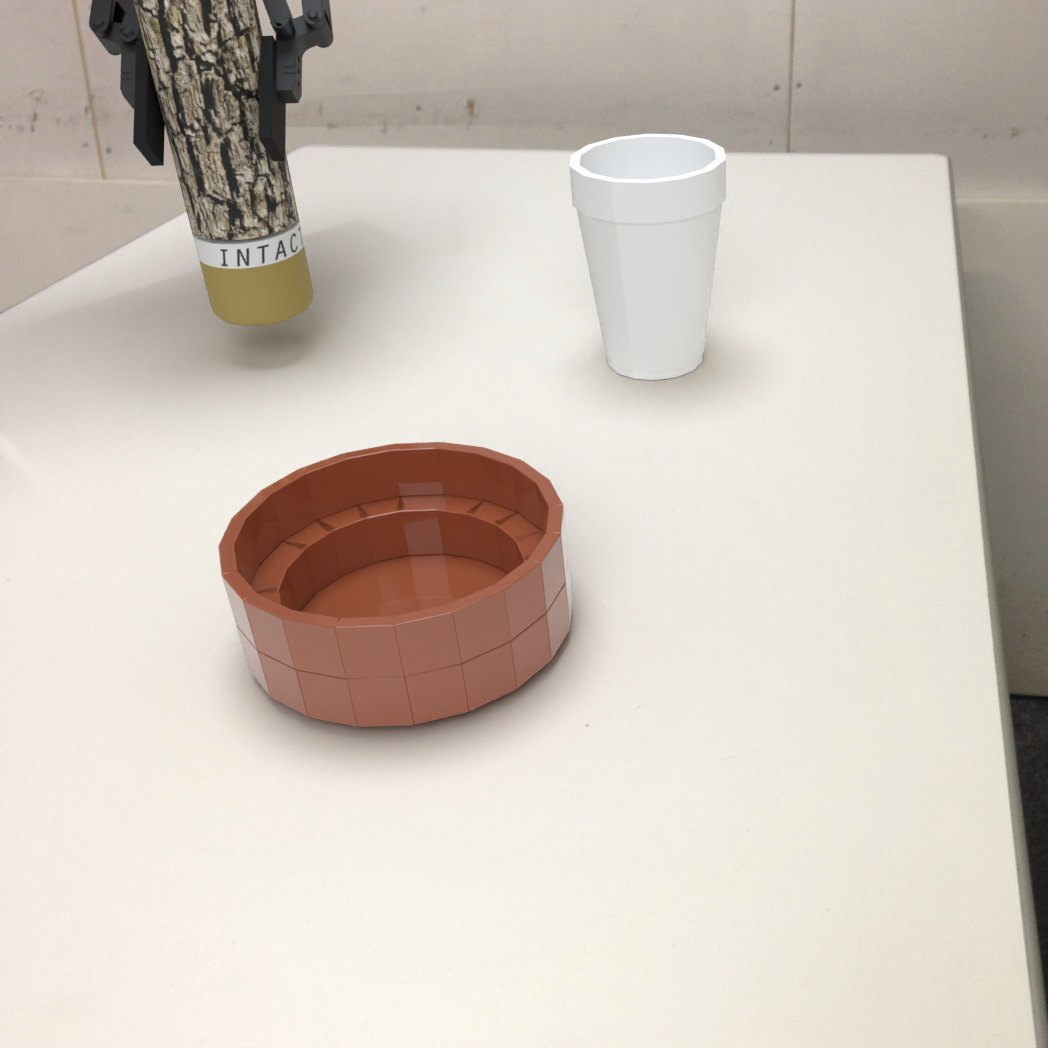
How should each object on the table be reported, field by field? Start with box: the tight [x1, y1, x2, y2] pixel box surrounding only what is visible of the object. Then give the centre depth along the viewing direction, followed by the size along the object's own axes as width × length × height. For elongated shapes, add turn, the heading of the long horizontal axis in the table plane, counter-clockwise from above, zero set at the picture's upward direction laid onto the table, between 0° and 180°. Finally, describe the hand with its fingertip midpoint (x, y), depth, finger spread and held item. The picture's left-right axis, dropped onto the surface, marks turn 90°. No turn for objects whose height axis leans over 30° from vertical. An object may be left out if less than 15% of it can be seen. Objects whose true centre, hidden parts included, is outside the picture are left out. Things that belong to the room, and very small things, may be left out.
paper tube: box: [133, 0, 314, 327], centre depth 79 cm, size 7×7×25 cm
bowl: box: [217, 441, 573, 728], centre depth 60 cm, size 15×15×6 cm
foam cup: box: [568, 133, 727, 381], centre depth 80 cm, size 10×9×13 cm
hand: (210, 151), depth 77 cm, fingers closed on paper tube, 7 cm apart
